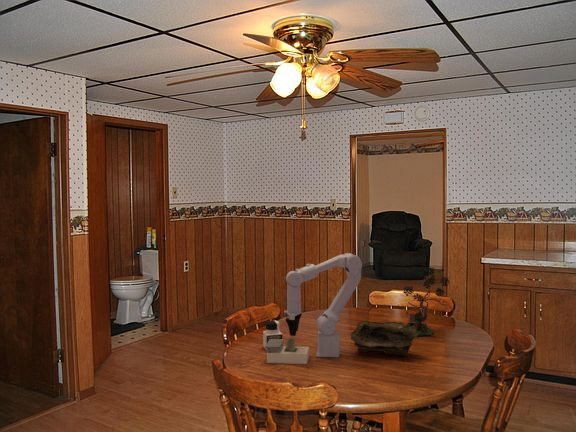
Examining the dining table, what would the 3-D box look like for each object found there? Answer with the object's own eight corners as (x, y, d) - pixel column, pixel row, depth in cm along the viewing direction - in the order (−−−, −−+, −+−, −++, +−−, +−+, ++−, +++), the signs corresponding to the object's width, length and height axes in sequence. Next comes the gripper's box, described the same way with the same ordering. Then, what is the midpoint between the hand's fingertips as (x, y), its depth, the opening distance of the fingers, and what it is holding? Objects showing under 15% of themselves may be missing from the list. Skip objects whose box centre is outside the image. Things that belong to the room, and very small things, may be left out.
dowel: (295, 358, 209) (295, 339, 209) (294, 361, 205) (294, 341, 205) (287, 358, 209) (286, 338, 209) (285, 360, 206) (285, 341, 206)
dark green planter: (418, 369, 207) (426, 336, 216) (412, 354, 199) (420, 320, 207) (354, 357, 221) (363, 327, 230) (346, 342, 213) (356, 312, 221)
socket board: (309, 355, 212) (309, 339, 212) (306, 364, 201) (306, 347, 201) (270, 354, 214) (269, 338, 214) (265, 363, 203) (265, 346, 203)
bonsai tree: (450, 342, 228) (449, 272, 227) (394, 338, 236) (394, 270, 235) (450, 323, 261) (450, 262, 260) (402, 320, 269) (401, 261, 268)
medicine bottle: (266, 351, 219) (266, 323, 219) (263, 346, 226) (262, 319, 226) (282, 349, 221) (282, 322, 221) (278, 345, 228) (278, 318, 228)
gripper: (286, 296, 218) (286, 328, 218) (281, 303, 204) (282, 337, 204) (302, 297, 217) (303, 328, 218) (299, 304, 203) (299, 338, 203)
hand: (294, 333), depth 211 cm, fingers open, 7 cm apart
